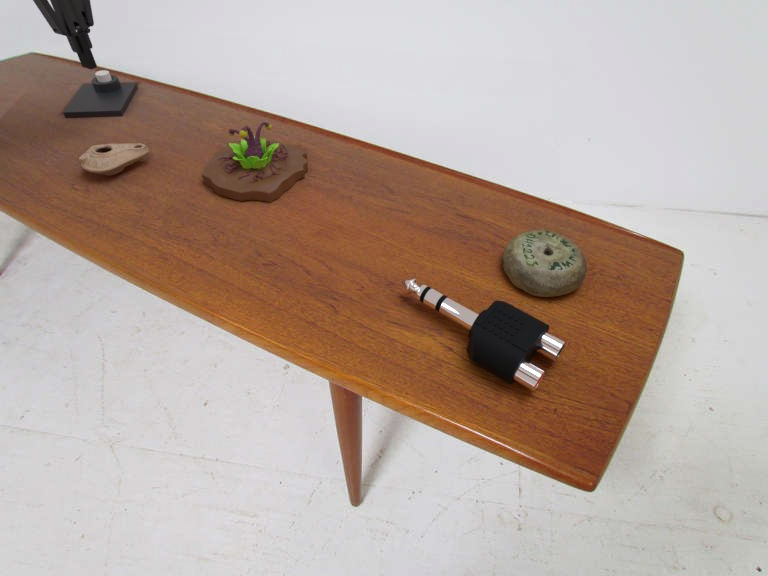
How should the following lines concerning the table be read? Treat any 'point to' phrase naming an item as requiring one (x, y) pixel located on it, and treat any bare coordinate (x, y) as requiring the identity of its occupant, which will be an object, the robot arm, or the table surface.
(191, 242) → the table surface
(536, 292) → the weight
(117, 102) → the scale
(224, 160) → the plant
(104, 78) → the button
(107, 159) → the pottery oil lamp
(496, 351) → the audio adapter
